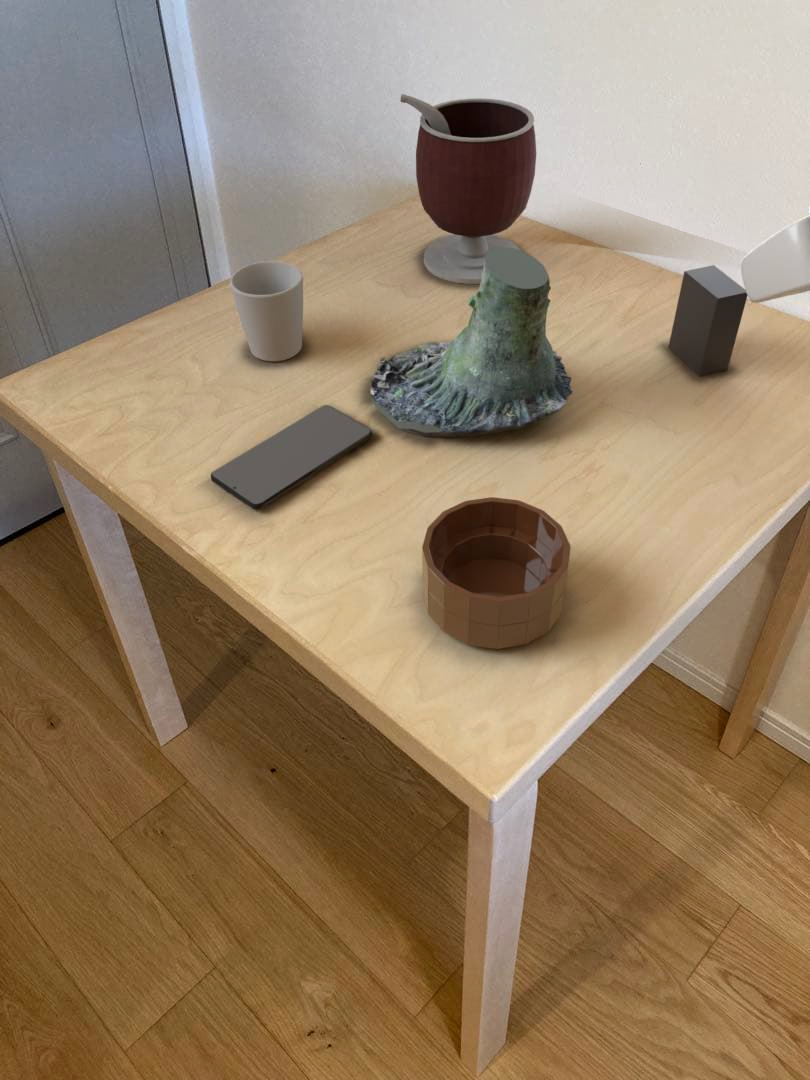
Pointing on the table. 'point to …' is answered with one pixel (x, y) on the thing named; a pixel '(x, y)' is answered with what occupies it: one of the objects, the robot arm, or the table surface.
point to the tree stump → (481, 361)
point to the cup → (270, 308)
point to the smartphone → (290, 456)
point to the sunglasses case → (707, 319)
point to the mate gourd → (472, 178)
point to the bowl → (495, 572)
